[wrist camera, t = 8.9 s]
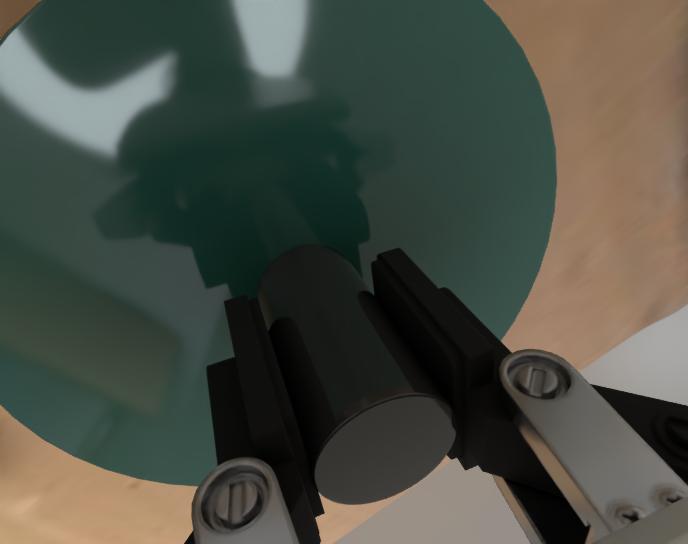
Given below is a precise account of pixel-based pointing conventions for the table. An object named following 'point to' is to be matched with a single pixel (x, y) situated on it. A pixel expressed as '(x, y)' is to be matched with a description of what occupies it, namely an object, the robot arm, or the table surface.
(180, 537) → the table surface
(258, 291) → the lid
